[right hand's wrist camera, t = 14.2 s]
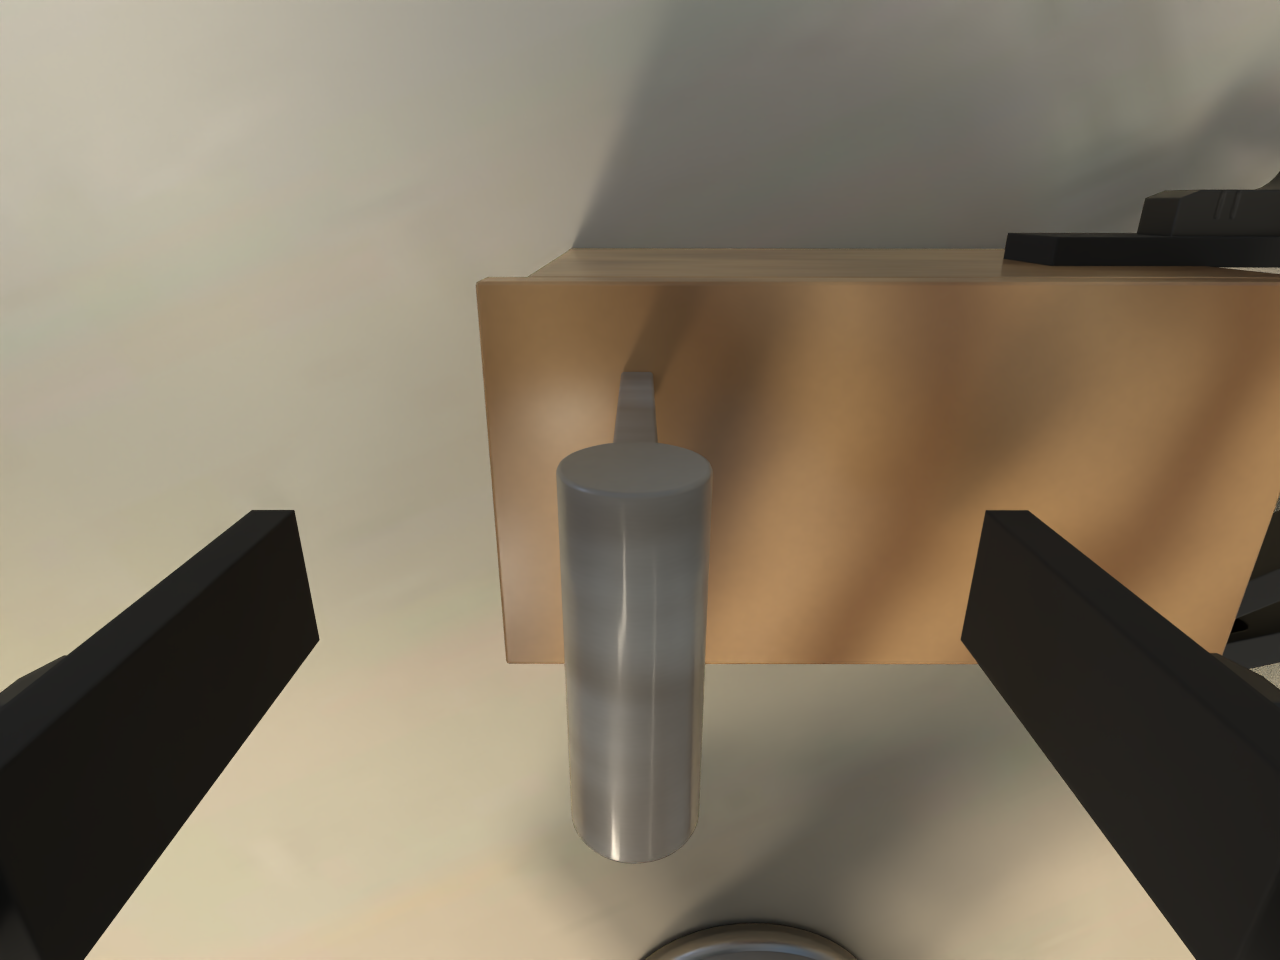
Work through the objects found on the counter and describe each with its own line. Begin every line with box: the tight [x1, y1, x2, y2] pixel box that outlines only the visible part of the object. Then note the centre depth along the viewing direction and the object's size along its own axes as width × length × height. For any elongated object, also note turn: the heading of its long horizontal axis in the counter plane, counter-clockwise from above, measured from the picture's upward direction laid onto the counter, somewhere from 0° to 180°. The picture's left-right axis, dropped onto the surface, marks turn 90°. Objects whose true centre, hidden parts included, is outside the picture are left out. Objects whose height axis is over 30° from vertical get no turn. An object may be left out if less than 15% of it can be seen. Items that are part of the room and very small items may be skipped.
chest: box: [528, 248, 1280, 278], centre depth 23 cm, size 18×10×11 cm, turn 90°
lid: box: [476, 277, 1280, 863], centre depth 14 cm, size 18×10×8 cm, turn 90°
